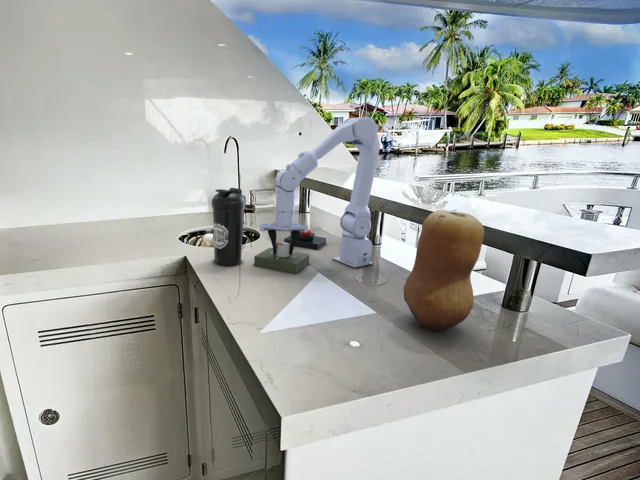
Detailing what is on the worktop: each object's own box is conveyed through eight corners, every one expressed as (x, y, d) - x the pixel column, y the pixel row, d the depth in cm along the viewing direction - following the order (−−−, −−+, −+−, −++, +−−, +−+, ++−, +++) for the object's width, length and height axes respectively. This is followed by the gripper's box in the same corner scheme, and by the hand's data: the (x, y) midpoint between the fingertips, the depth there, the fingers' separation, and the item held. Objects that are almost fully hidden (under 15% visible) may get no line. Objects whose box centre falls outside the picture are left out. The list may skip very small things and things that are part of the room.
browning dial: (288, 253, 121) (289, 241, 120) (289, 257, 117) (290, 245, 115) (275, 252, 121) (275, 241, 120) (275, 257, 117) (276, 244, 116)
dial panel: (308, 263, 121) (309, 254, 120) (296, 273, 112) (296, 263, 111) (269, 256, 128) (269, 247, 127) (254, 265, 119) (254, 255, 118)
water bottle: (205, 261, 121) (204, 188, 113) (227, 254, 128) (228, 185, 120) (227, 269, 114) (228, 192, 107) (250, 261, 122) (252, 189, 114)
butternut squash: (480, 337, 79) (512, 219, 70) (424, 343, 76) (450, 220, 68) (435, 308, 91) (457, 205, 83) (385, 312, 89) (402, 206, 80)
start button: (312, 234, 142) (312, 229, 142) (308, 236, 139) (309, 231, 139) (302, 232, 144) (303, 228, 143) (299, 234, 141) (299, 230, 140)
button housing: (325, 243, 144) (326, 233, 143) (317, 249, 136) (318, 239, 134) (293, 238, 150) (294, 228, 149) (283, 244, 142) (284, 233, 140)
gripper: (261, 212, 111) (259, 256, 115) (311, 214, 110) (307, 258, 115) (260, 208, 117) (259, 250, 122) (307, 209, 117) (304, 251, 122)
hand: (282, 253), depth 119 cm, fingers closed on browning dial, 4 cm apart
